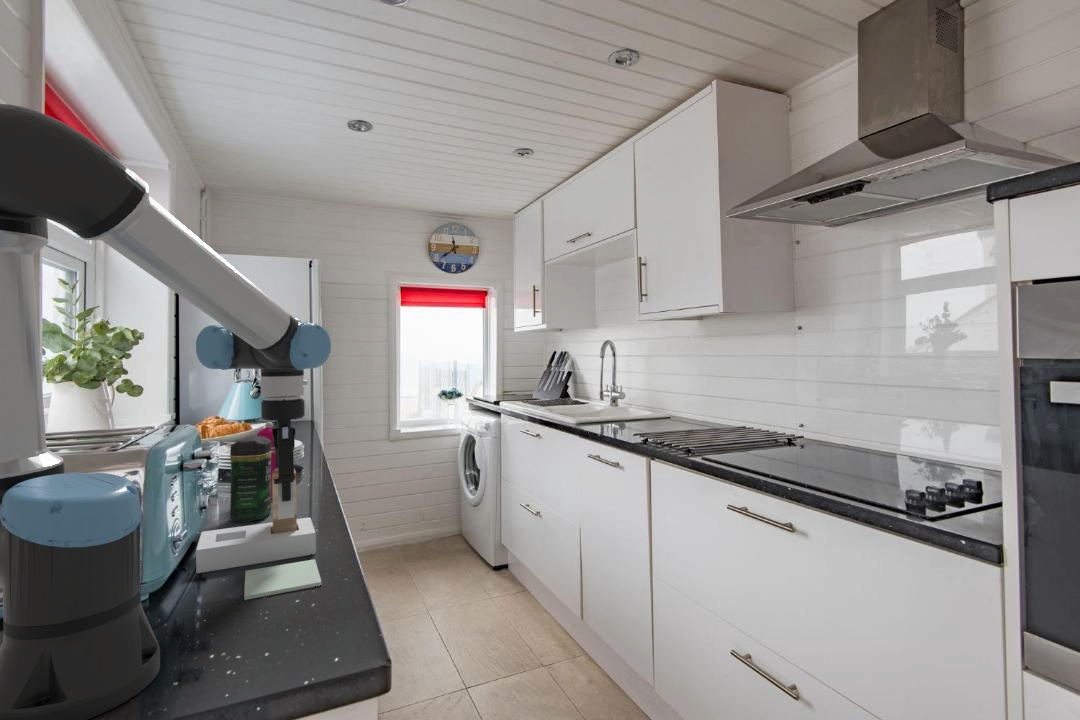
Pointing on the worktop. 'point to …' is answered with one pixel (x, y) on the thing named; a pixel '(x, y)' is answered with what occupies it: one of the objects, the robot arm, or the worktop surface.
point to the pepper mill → (268, 434)
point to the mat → (281, 579)
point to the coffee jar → (250, 479)
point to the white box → (253, 545)
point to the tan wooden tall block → (280, 524)
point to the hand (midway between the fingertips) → (284, 508)
